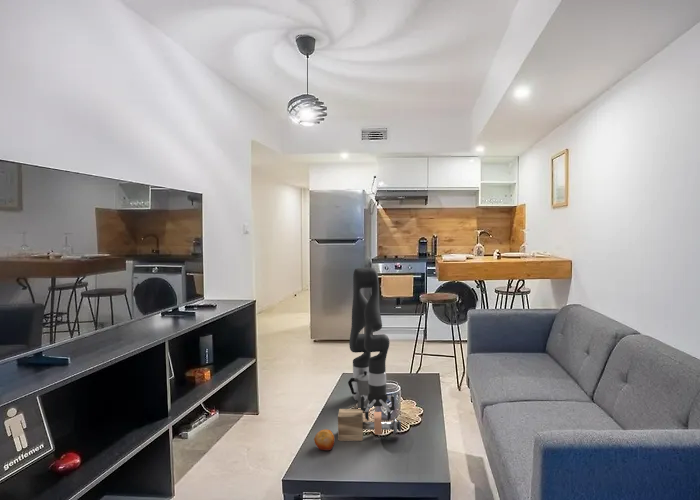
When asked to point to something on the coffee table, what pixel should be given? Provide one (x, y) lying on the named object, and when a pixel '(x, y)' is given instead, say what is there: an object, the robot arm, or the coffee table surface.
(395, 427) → the shaft
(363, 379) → the coffeepot
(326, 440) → the fruit
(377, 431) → the block
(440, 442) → the coffee table surface
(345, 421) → the wooden block
